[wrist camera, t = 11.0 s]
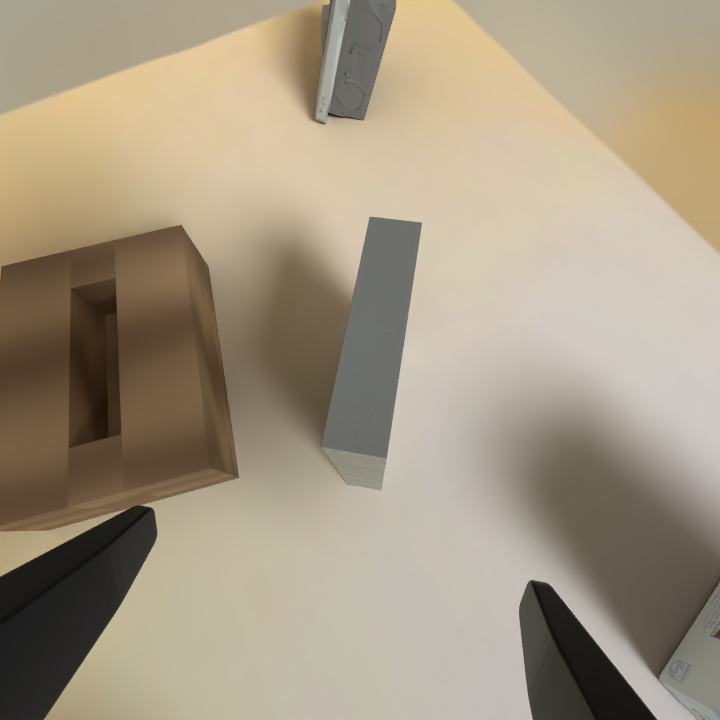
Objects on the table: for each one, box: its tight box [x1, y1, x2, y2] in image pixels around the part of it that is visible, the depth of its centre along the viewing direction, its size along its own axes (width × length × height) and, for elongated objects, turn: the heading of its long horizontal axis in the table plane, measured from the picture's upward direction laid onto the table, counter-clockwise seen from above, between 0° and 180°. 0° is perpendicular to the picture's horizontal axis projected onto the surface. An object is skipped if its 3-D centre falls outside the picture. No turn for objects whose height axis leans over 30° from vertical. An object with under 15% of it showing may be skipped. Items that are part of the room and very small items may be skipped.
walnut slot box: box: [0, 225, 239, 531], centre depth 22 cm, size 14×10×4 cm
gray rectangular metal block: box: [321, 217, 422, 490], centre depth 17 cm, size 8×2×11 cm, turn 170°
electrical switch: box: [315, 0, 396, 124], centre depth 29 cm, size 9×5×9 cm, turn 177°
